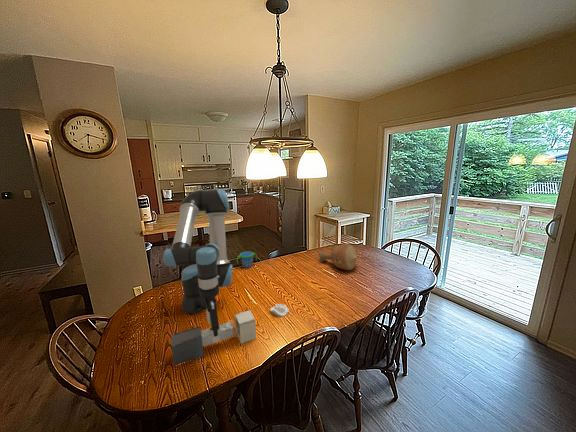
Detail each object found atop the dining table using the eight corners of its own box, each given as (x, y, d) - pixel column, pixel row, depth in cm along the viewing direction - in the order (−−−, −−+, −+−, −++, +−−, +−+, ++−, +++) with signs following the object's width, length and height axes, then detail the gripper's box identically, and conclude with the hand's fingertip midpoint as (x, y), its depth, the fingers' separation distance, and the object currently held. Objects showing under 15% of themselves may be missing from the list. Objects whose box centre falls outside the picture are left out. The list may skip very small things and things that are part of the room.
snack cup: (238, 270, 174) (237, 257, 171) (236, 264, 183) (235, 252, 181) (258, 267, 178) (258, 254, 176) (256, 261, 188) (255, 250, 186)
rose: (269, 310, 119) (270, 299, 129) (269, 318, 120) (270, 306, 130) (289, 309, 120) (288, 298, 129) (289, 317, 121) (288, 306, 130)
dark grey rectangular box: (174, 367, 92) (171, 346, 89) (174, 354, 98) (171, 334, 96) (203, 356, 96) (201, 336, 94) (201, 345, 102) (199, 326, 100)
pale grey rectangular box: (178, 355, 93) (177, 345, 91) (178, 347, 97) (176, 336, 96) (236, 336, 103) (235, 326, 101) (233, 329, 107) (232, 319, 106)
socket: (241, 343, 103) (239, 324, 101) (236, 333, 109) (235, 314, 107) (256, 338, 106) (255, 319, 104) (250, 328, 113) (249, 310, 110)
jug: (348, 262, 156) (311, 257, 175) (357, 277, 167) (320, 270, 186) (357, 239, 167) (320, 236, 185) (364, 254, 178) (329, 250, 196)
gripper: (224, 297, 86) (228, 347, 90) (213, 271, 108) (216, 313, 112) (203, 303, 83) (208, 354, 87) (195, 275, 104) (200, 317, 109)
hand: (213, 331), depth 99 cm, fingers open, 13 cm apart
